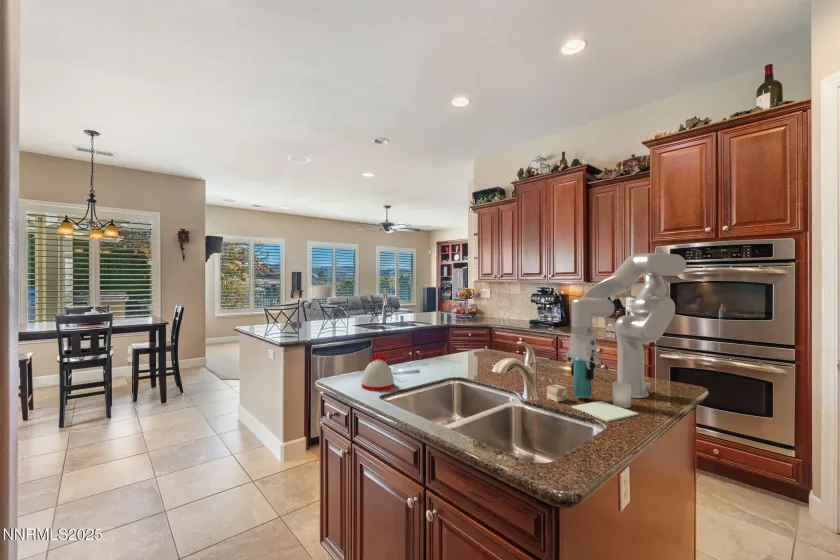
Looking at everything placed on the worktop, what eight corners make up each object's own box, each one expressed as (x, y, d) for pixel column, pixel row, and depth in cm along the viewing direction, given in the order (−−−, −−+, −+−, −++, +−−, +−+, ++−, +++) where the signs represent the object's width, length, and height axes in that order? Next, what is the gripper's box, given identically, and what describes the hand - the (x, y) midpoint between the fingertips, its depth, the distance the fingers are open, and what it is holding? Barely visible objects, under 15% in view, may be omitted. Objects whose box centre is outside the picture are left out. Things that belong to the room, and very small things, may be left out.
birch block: (556, 397, 151) (556, 384, 151) (566, 400, 146) (566, 387, 146) (546, 399, 149) (546, 386, 149) (556, 402, 144) (556, 389, 144)
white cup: (619, 401, 145) (619, 380, 145) (634, 406, 140) (634, 384, 140) (609, 403, 143) (609, 382, 143) (623, 408, 137) (623, 386, 137)
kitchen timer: (396, 389, 161) (396, 353, 161) (363, 391, 158) (363, 355, 158) (391, 381, 174) (391, 348, 174) (360, 383, 171) (360, 349, 171)
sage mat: (600, 402, 144) (600, 400, 144) (638, 415, 131) (638, 413, 131) (571, 407, 138) (571, 406, 138) (607, 421, 124) (607, 420, 124)
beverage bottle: (593, 402, 144) (593, 349, 144) (574, 401, 145) (574, 348, 145) (589, 397, 150) (589, 346, 150) (571, 396, 152) (571, 345, 152)
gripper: (608, 333, 142) (608, 381, 142) (571, 327, 157) (571, 371, 157) (594, 334, 138) (594, 383, 138) (557, 328, 154) (557, 373, 154)
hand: (582, 376), depth 148 cm, fingers closed on beverage bottle, 6 cm apart
